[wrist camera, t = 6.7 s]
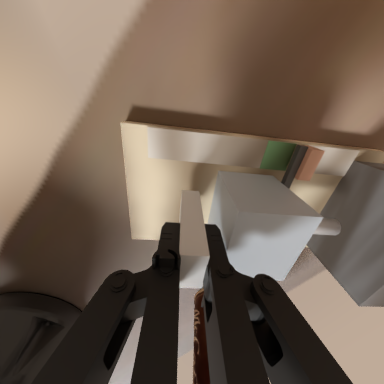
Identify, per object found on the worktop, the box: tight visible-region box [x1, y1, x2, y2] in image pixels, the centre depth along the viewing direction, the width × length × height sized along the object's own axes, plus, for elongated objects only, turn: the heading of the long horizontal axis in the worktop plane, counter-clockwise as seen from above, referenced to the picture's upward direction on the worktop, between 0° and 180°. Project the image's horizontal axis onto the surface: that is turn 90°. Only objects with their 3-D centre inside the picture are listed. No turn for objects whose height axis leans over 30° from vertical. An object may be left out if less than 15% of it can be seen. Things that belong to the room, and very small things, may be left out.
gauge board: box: [120, 121, 384, 307], centre depth 13 cm, size 23×12×8 cm, turn 84°
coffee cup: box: [193, 288, 210, 384], centre depth 21 cm, size 9×8×13 cm
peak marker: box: [285, 144, 325, 181], centre depth 13 cm, size 1×2×2 cm, turn 173°
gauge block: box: [208, 144, 341, 281], centre depth 12 cm, size 10×9×6 cm
